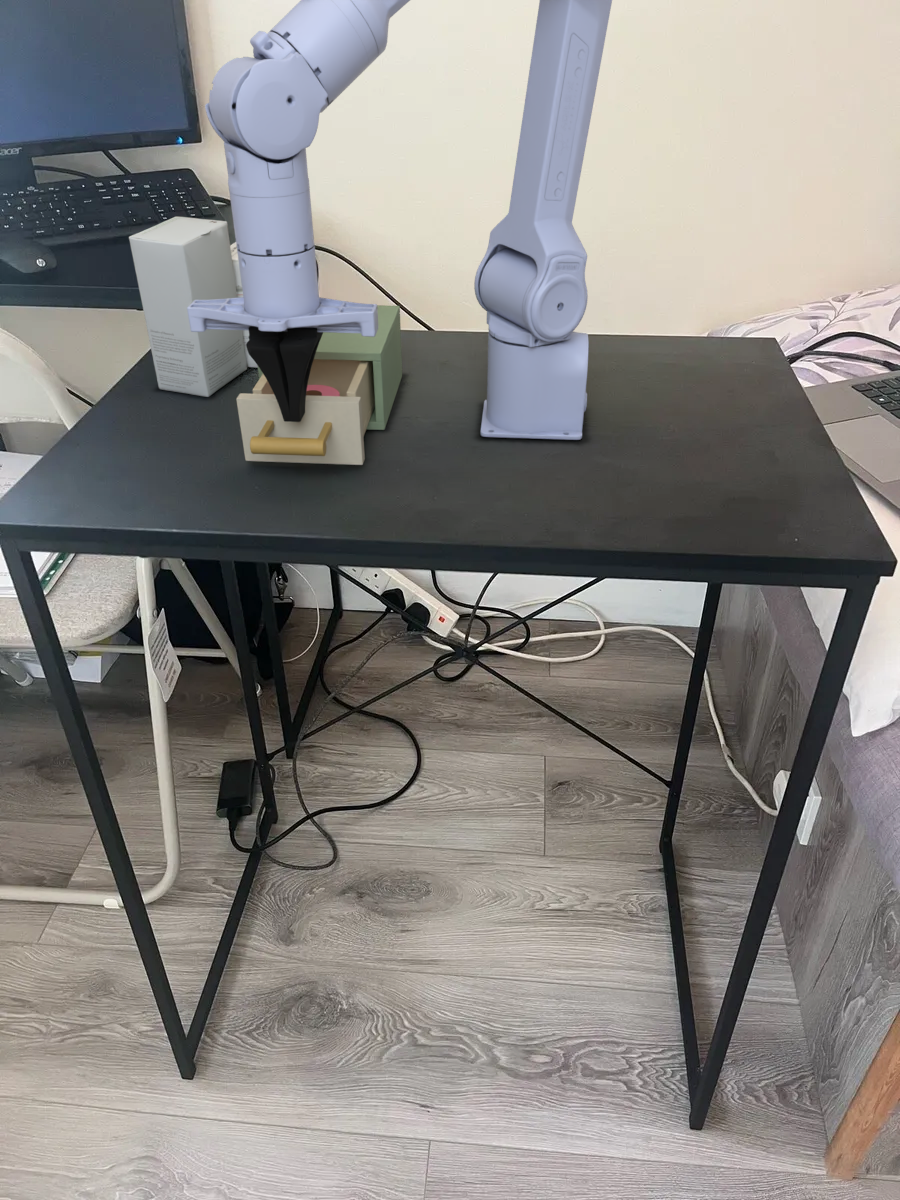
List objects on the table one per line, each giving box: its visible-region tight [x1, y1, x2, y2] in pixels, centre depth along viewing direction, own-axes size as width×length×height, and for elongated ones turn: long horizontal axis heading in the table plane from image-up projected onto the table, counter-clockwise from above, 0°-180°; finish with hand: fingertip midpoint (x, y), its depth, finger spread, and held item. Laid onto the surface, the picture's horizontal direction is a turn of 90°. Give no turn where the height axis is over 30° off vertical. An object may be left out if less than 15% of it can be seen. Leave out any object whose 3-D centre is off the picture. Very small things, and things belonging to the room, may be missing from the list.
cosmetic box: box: [128, 216, 248, 398], centre depth 92 cm, size 8×7×16 cm
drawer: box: [236, 359, 375, 466], centre depth 80 cm, size 17×10×6 cm, turn 175°
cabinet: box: [257, 304, 403, 431], centre depth 90 cm, size 14×12×8 cm
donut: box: [306, 385, 340, 396], centre depth 82 cm, size 5×5×3 cm
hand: (294, 416), depth 75 cm, fingers closed
